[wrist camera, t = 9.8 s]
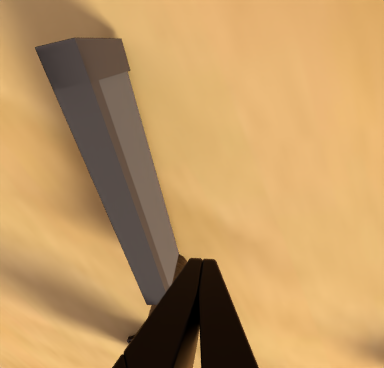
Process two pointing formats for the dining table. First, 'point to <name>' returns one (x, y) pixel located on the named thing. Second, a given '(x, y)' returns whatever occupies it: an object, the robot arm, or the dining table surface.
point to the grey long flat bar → (115, 152)
